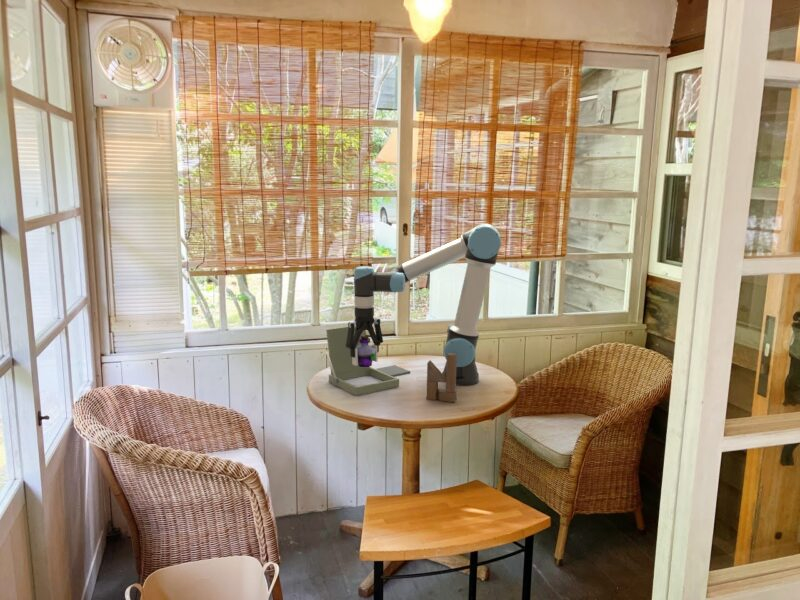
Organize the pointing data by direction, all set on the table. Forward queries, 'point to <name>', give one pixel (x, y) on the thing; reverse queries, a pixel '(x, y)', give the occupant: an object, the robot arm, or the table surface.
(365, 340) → the potion bottle
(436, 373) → the wooden block
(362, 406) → the table surface
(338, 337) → the case
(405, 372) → the pad
